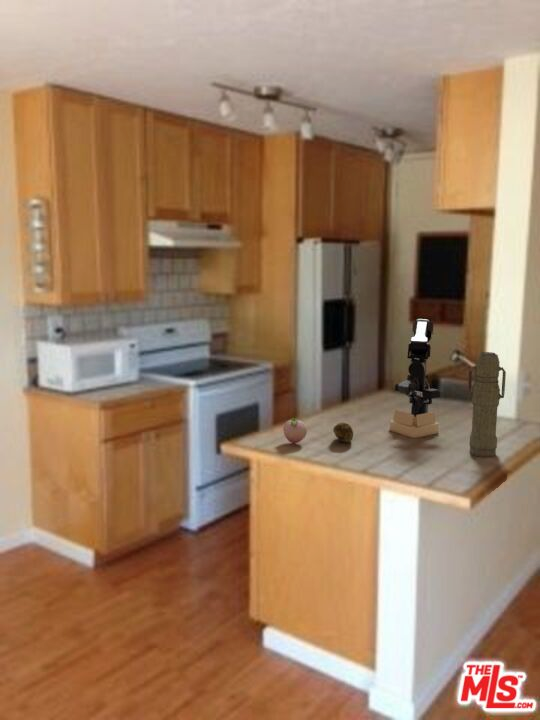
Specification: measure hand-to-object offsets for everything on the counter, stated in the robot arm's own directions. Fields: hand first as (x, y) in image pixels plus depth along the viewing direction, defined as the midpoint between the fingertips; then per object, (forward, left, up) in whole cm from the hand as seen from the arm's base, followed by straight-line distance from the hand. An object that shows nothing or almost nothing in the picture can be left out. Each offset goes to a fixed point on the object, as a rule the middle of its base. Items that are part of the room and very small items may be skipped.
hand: (416, 412), depth 260 cm
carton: (+2, +1, -8) cm, 8 cm away
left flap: (+2, +7, -4) cm, 8 cm away
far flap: (+8, +1, -4) cm, 9 cm away
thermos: (+3, +34, -8) cm, 35 cm away
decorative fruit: (+50, -11, -8) cm, 51 cm away
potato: (+34, -3, -8) cm, 35 cm away
